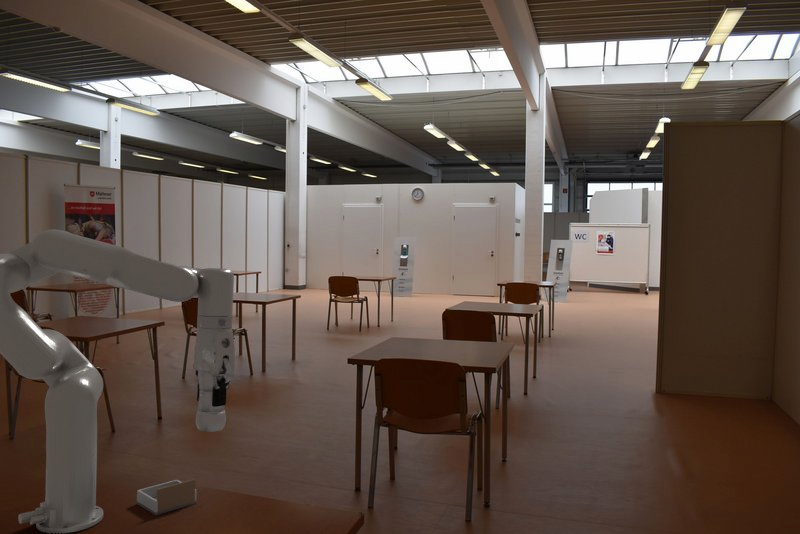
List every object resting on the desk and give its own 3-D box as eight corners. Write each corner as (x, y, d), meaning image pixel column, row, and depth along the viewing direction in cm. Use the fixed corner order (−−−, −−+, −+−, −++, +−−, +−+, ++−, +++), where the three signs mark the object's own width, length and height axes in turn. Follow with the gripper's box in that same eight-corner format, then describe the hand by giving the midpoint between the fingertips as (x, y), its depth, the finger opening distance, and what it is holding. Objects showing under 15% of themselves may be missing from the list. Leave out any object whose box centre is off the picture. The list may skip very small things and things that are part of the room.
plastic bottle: (216, 436, 136) (221, 345, 136) (189, 433, 138) (193, 343, 137) (230, 428, 143) (234, 342, 142) (204, 425, 144) (207, 339, 144)
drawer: (155, 515, 136) (156, 490, 136) (136, 503, 142) (137, 479, 142) (196, 502, 143) (197, 478, 143) (176, 492, 149) (177, 469, 149)
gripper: (251, 326, 137) (247, 408, 137) (209, 318, 148) (205, 394, 149) (221, 328, 131) (217, 413, 132) (179, 320, 143) (176, 398, 143)
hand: (211, 402), depth 140 cm, fingers closed on plastic bottle, 5 cm apart
